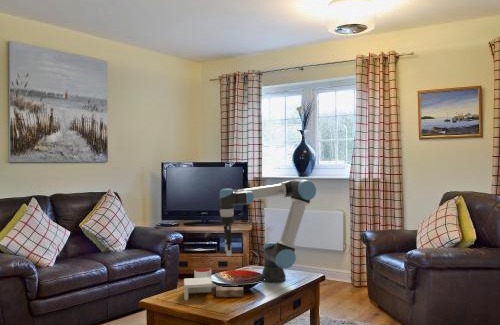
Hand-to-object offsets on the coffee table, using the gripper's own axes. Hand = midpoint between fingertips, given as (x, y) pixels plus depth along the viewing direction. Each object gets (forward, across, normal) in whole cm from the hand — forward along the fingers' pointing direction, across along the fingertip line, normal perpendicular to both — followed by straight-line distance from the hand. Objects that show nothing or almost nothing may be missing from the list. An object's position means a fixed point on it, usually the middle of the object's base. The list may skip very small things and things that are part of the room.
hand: (228, 253), depth 263 cm
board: (+22, +6, 0) cm, 23 cm away
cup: (+22, -12, -15) cm, 29 cm away
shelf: (+21, +5, -18) cm, 28 cm away
